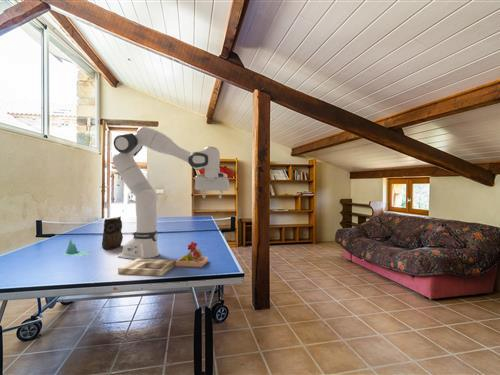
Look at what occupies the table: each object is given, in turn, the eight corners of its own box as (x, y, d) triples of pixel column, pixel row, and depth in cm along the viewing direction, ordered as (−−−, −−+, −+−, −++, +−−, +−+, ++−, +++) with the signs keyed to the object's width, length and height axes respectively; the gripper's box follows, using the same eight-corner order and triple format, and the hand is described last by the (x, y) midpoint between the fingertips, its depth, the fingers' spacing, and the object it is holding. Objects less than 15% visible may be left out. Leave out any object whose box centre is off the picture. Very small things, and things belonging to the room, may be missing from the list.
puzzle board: (118, 273, 124) (118, 268, 124) (136, 263, 141) (137, 258, 141) (161, 275, 122) (161, 269, 122) (175, 265, 138) (175, 260, 138)
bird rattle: (197, 264, 145) (182, 258, 144) (206, 245, 146) (190, 239, 144) (197, 267, 139) (180, 261, 137) (206, 248, 139) (190, 241, 138)
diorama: (82, 257, 151) (82, 242, 151) (54, 255, 156) (54, 240, 156) (99, 252, 163) (99, 238, 163) (72, 250, 168) (72, 237, 168)
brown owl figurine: (122, 245, 183) (123, 216, 183) (122, 249, 172) (122, 218, 172) (101, 246, 178) (102, 216, 178) (99, 250, 166) (100, 218, 166)
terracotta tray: (175, 266, 136) (175, 261, 136) (183, 260, 147) (183, 256, 147) (202, 267, 134) (202, 262, 134) (207, 261, 145) (207, 257, 145)
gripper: (193, 174, 155) (193, 198, 155) (228, 174, 152) (227, 198, 152) (196, 174, 161) (196, 197, 161) (230, 174, 159) (229, 198, 159)
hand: (211, 198), depth 157 cm, fingers open, 8 cm apart
